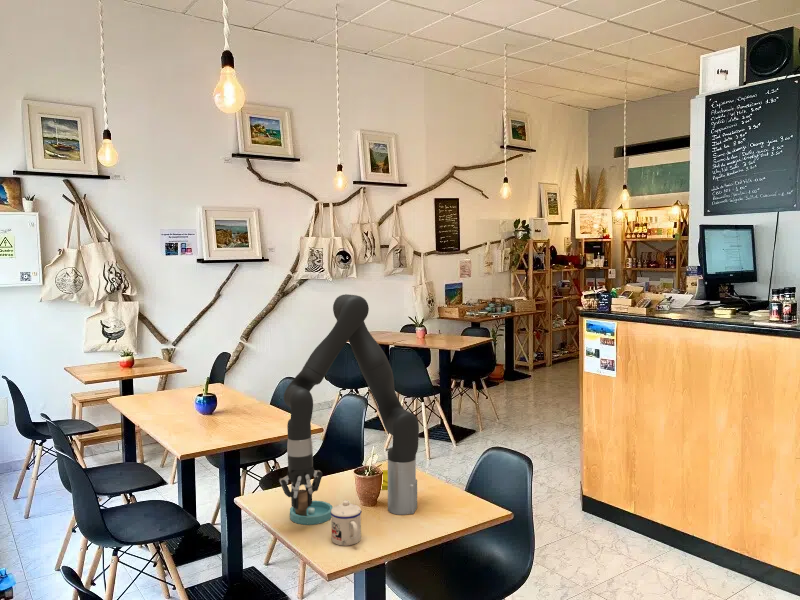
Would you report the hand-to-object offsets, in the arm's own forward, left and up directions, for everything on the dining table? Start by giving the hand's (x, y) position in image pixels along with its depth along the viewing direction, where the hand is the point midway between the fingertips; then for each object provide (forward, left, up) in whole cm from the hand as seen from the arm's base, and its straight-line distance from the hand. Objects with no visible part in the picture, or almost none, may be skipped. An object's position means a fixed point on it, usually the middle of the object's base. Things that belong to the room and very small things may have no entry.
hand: (302, 506), depth 196 cm
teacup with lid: (-16, +4, -8) cm, 18 cm away
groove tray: (+1, -11, -7) cm, 13 cm away
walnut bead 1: (0, 0, 0) cm, 0 cm away
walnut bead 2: (+4, -8, -7) cm, 11 cm away
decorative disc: (-14, -47, -8) cm, 49 cm away
